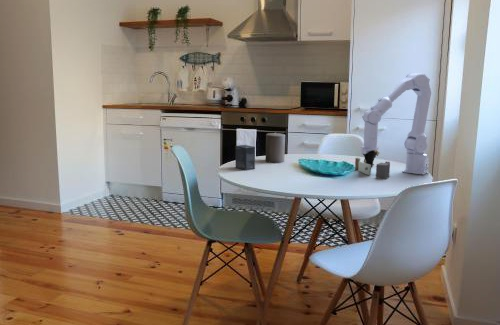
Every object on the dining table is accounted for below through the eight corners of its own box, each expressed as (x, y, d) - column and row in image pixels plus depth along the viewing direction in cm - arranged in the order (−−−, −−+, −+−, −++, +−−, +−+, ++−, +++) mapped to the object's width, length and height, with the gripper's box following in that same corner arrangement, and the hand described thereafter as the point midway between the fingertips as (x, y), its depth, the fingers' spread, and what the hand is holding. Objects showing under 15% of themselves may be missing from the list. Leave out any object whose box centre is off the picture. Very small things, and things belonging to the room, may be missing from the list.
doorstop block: (389, 177, 203) (389, 163, 202) (384, 179, 199) (385, 165, 198) (380, 176, 205) (380, 162, 204) (375, 178, 201) (376, 164, 200)
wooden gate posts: (390, 174, 209) (390, 161, 208) (388, 174, 207) (389, 162, 206) (356, 169, 219) (356, 157, 217) (354, 170, 217) (354, 158, 216)
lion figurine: (379, 166, 226) (380, 148, 224) (369, 166, 225) (370, 148, 223) (368, 161, 240) (369, 143, 238) (358, 161, 239) (359, 143, 238)
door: (370, 175, 206) (371, 165, 205) (366, 175, 205) (366, 165, 204) (360, 170, 215) (360, 160, 214) (356, 170, 215) (356, 161, 214)
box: (255, 169, 218) (255, 146, 216) (245, 170, 214) (245, 147, 212) (244, 166, 224) (244, 144, 222) (235, 167, 220) (235, 145, 218)
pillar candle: (263, 162, 234) (263, 132, 231) (268, 158, 243) (268, 130, 240) (282, 163, 231) (283, 133, 229) (286, 160, 241) (287, 131, 238)
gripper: (368, 134, 215) (367, 164, 218) (355, 138, 204) (353, 169, 206) (383, 136, 211) (381, 165, 213) (370, 139, 199) (369, 171, 202)
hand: (369, 167), depth 210 cm, fingers closed, pressing on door
